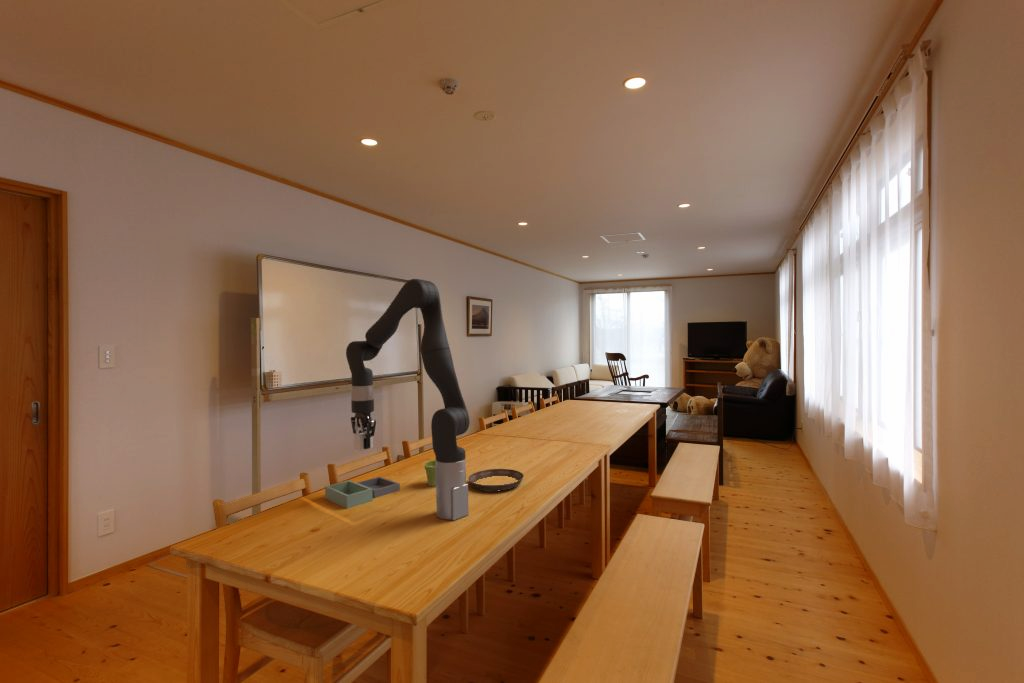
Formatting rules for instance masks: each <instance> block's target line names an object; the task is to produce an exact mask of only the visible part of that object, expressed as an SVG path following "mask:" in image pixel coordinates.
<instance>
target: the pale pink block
mask: <svg viewBox="0 0 1024 683" xmlns="http://www.w3.org/2000/svg"><path fill="white" fill-rule="evenodd" d="M353 442H354V443H353V447H354V449H355V450H358V451H365V450H366V449H364V441H363V433H358V434H354V433H353ZM373 448H374V436H372V437H370V448H369V449H373Z"/></svg>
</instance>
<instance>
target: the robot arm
mask: <svg viewBox="0 0 1024 683" xmlns="http://www.w3.org/2000/svg"><path fill="white" fill-rule="evenodd" d="M412 309H420V312H421V316H422V320H423V332H422V333H423V334H422V337H421V341H420V355H421V359H422V360H421V361H422V364H423V367H424V370H425V373H426V374H427V376H428V377H429V379H430V380H431V382H432V383H433V384H434V386H435V387H436V388H437V390H438V392H439V393H440V395H441V397H442V400H443V404H444V408H440V409H438V410H436V411H435V412H434V413H433V415H432V418H431V425H430V426H431V427H430V428H431V443H432V451H433V453H434V455H435V460H436V487H435V494H436V496H435V500H436V517H437V518H439V519H442V520H452V521H455V520H456V521H457V520H458V519H461V518H464V517H466V516H469V513H470V512H469V511H470V510H469V509H470V508H469V484H468V483H467V478H466V477H467V475H466V474H467V473H466V472H467V471H466V470H467V469H466V467H467V466H466V449H464V448H463V447H461V446H458V443H457V437H458V436H461V435H464V434H465V433H466V432H467V431H468V430H469V427H470V416H469V410H468V409H467V406H466V402H465V400H464V397H463V394H462V392H461V389H460V384H459V382H458V381H459V380H458V378H457V374H456V373H457V372H456V370H455V366H454V365H455V364H454V361H453V356H452V351H451V349H450V344H449V341H448V340H449V339H448V337H447V332H446V331H447V330H446V327H445V323H444V319H443V310H442V302H441V296H440V292H439V288H438V287H437V285H436V284H435V283H434V282H432V281H430V280H425V279H419V278H412V279H409V280H408V281H407V282H405V283H404V284H403V286H402V287H400V290H399V291H398V293H397V294H396V295H395V297H394V298H393V300H392V301H391V303H390V304H389V306H388V307H387V309H386V310H385V311H384V312H383V313H382V315H381V316H380V318H379V319H377V321H376V322H374V323H373V324H372V325H371V326H370V327H369V329H368V330H366V333H365V336H364V338H365V340H353V341H350V342H349V343H348V344H347V347H346V350H345V355H346V356H345V357H346V361H347V364H348V368H349V371H350V373H351V390H350V391H351V392H350V399H351V400H350V404H351V406H350V407H351V408H350V409H351V413H353V414H354V416H351V417H350V423H351V428H352V434H353V435H354V434H358V433H363V441H364V449H365V450H368V449H369V448H370V437H372V436H373V437H374V436H375V433H376V432H375V431H376V427H377V426H376V424H377V420H376V419H374V420H373V419H372V414H371V413H372V412H374V411H375V392H374V382H373V381H374V380H373V375H374V374H373V373H374V372H373V370H372V369H371V368H368V367H366V366H365V364H364V362H369V361H372V360H373V359H375V358H376V357H377V356H378V355H379V353H380V351H381V349H382V348H383V346H384V344H385V343H387V342H388V340H390V339H391V338H392V336H394V335H395V333H396V332H397V330H398V328H399V324H400V322H401V320H402V318H403V317H404V316H405V315H406V314H407V313H409V311H411V310H412ZM370 449H371V448H370Z"/></svg>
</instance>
